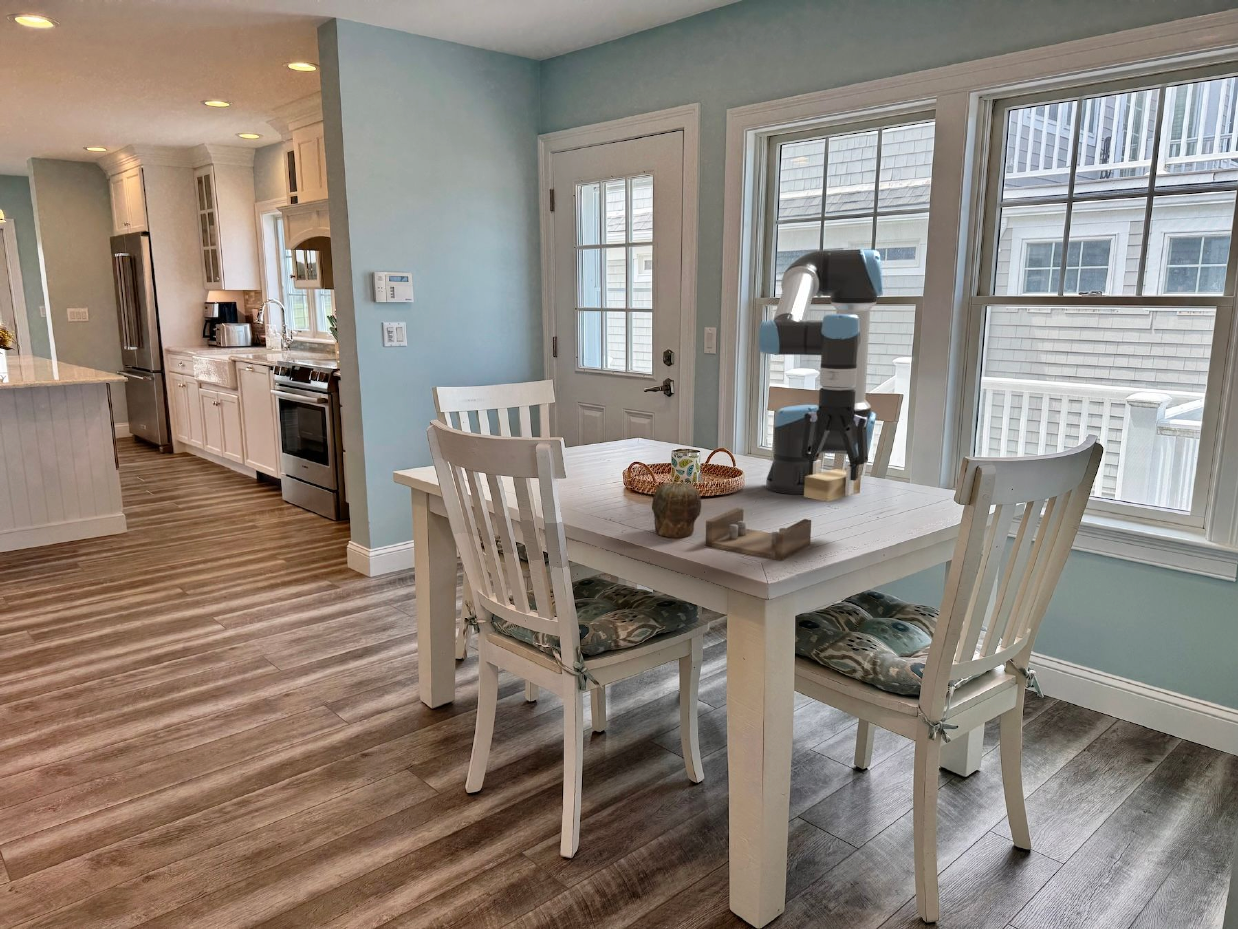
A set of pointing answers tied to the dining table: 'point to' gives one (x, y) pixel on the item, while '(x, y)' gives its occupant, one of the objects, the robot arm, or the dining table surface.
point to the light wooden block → (829, 485)
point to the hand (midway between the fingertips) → (832, 491)
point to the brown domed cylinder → (676, 509)
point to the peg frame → (756, 537)
